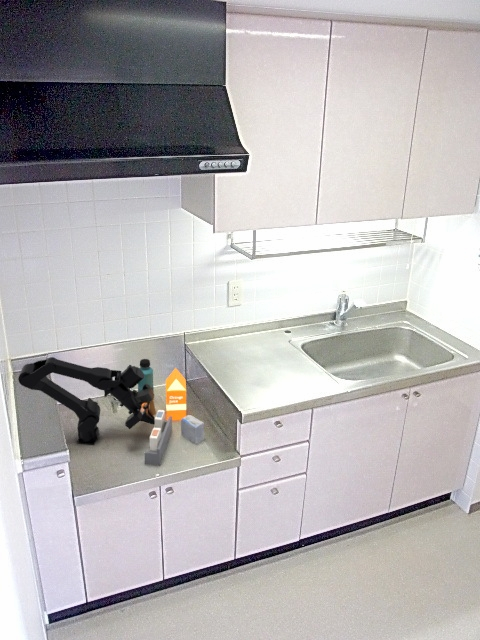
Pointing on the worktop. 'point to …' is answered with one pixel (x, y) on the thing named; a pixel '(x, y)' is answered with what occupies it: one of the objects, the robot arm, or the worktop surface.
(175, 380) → the orange juice
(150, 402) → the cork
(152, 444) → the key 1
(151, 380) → the beverage bottle
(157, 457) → the grey holder stand
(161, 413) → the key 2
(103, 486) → the worktop surface
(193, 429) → the medicine box
